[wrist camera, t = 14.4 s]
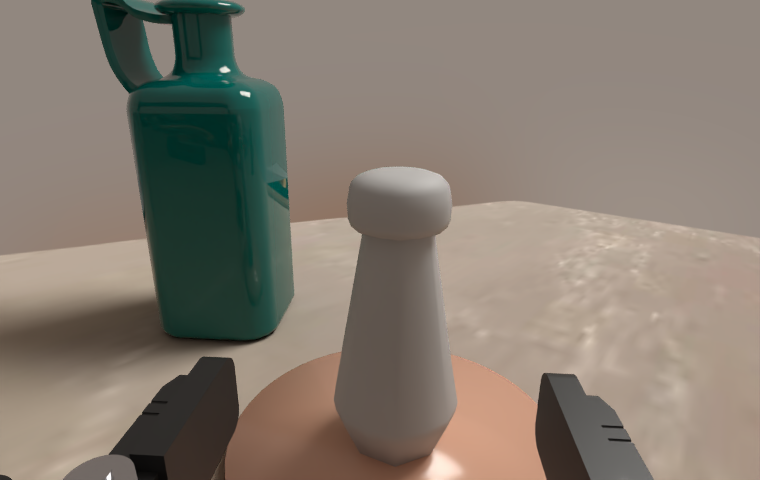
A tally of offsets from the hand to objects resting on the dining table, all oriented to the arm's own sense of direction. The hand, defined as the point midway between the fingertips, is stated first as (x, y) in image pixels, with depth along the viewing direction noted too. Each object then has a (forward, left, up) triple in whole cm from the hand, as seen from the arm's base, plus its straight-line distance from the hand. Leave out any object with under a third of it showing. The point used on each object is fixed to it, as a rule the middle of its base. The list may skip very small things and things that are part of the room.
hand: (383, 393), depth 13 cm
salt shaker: (-7, +6, -9) cm, 13 cm away
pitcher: (-26, +4, -10) cm, 28 cm away
